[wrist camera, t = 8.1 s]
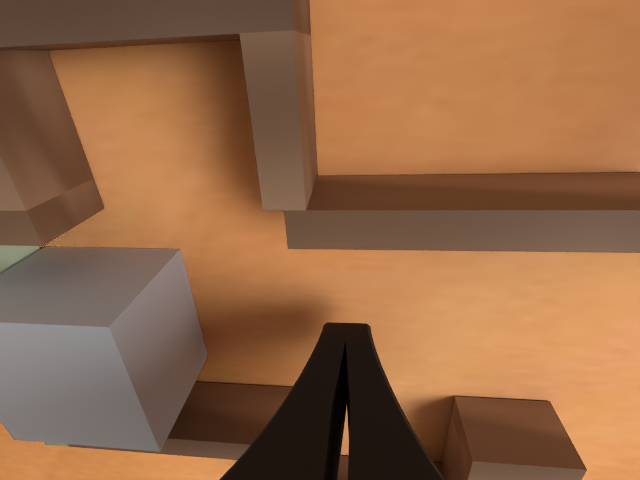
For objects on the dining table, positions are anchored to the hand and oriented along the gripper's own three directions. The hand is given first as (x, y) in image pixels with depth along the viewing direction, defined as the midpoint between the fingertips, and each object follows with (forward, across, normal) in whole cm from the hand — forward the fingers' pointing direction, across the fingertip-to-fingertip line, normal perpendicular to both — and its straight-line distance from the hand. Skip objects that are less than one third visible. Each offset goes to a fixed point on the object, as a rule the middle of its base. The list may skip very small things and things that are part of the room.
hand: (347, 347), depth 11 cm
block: (+2, +8, 0) cm, 8 cm away
